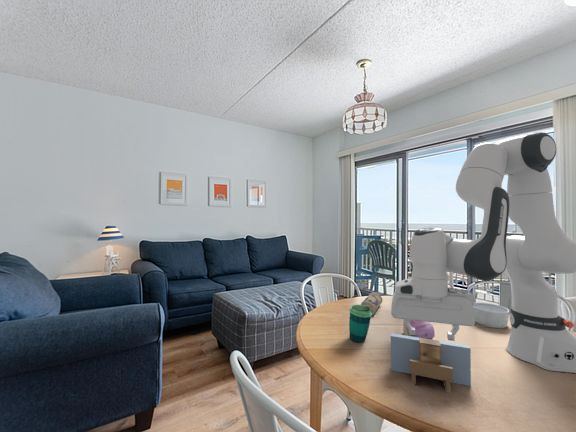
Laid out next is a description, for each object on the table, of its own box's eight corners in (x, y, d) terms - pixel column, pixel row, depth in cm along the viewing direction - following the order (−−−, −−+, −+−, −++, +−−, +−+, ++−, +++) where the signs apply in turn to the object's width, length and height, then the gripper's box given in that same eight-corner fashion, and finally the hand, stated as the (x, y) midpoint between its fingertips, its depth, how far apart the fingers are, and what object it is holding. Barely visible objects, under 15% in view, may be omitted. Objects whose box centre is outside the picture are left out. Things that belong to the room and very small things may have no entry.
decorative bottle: (367, 303, 142) (368, 291, 143) (382, 306, 139) (382, 293, 139) (353, 319, 120) (354, 304, 120) (371, 322, 116) (371, 307, 116)
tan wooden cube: (439, 366, 74) (439, 340, 74) (441, 373, 71) (441, 346, 71) (419, 362, 76) (419, 337, 76) (420, 369, 73) (419, 343, 73)
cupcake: (401, 343, 97) (401, 315, 97) (425, 342, 97) (424, 314, 97) (415, 355, 88) (415, 325, 88) (440, 354, 88) (440, 324, 88)
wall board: (469, 382, 73) (468, 345, 74) (476, 399, 66) (476, 358, 66) (390, 366, 81) (390, 333, 81) (389, 380, 74) (389, 344, 74)
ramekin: (515, 331, 107) (515, 314, 107) (477, 327, 111) (476, 310, 111) (501, 319, 119) (501, 304, 120) (467, 316, 124) (467, 301, 124)
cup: (354, 333, 105) (354, 302, 105) (375, 338, 100) (374, 306, 100) (345, 341, 98) (345, 308, 99) (367, 347, 94) (367, 312, 94)
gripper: (471, 286, 73) (473, 337, 73) (390, 281, 81) (392, 328, 81) (477, 292, 67) (479, 348, 67) (390, 286, 75) (391, 336, 75)
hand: (431, 337), depth 74 cm, fingers open, 8 cm apart
